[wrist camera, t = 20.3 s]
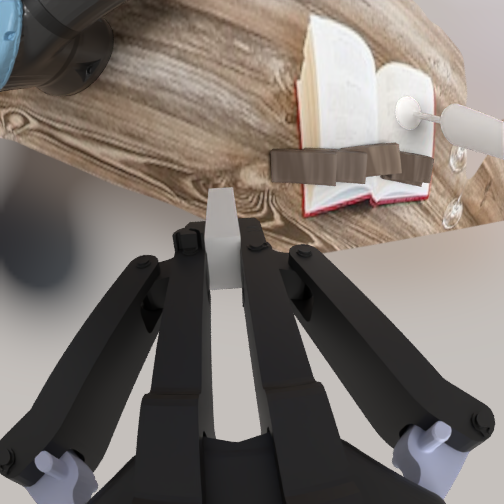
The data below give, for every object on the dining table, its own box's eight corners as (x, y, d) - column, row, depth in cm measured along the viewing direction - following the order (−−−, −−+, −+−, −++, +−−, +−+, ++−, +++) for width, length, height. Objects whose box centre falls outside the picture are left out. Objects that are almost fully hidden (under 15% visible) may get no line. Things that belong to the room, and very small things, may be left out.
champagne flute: (390, 101, 38) (497, 125, 17) (415, 92, 36) (519, 113, 16) (401, 134, 41) (502, 176, 21) (425, 124, 40) (523, 160, 19)
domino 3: (346, 179, 42) (401, 173, 39) (341, 150, 40) (398, 144, 37) (345, 175, 44) (398, 170, 41) (340, 148, 42) (395, 142, 38)
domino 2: (304, 179, 42) (365, 184, 40) (304, 149, 40) (367, 154, 38) (304, 176, 44) (363, 180, 42) (304, 147, 41) (365, 151, 39)
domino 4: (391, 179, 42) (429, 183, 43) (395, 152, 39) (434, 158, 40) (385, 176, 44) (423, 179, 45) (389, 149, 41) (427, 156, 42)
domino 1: (271, 182, 42) (335, 186, 39) (270, 151, 39) (337, 154, 37) (274, 178, 44) (335, 182, 41) (273, 149, 41) (336, 152, 38)
